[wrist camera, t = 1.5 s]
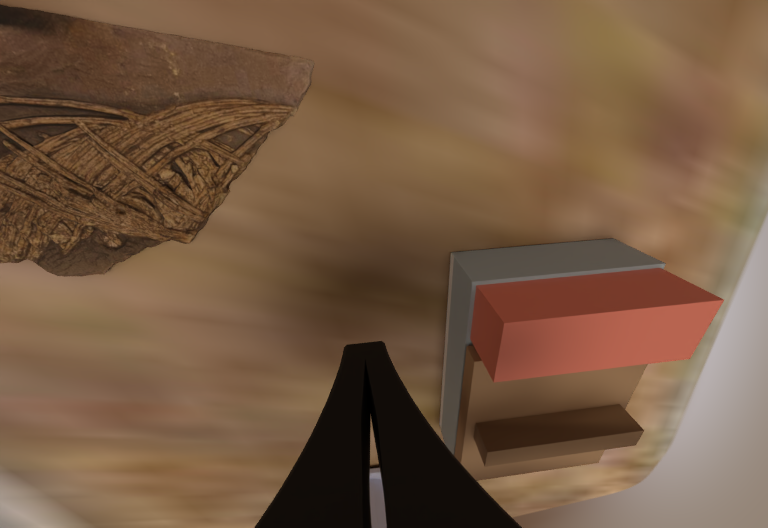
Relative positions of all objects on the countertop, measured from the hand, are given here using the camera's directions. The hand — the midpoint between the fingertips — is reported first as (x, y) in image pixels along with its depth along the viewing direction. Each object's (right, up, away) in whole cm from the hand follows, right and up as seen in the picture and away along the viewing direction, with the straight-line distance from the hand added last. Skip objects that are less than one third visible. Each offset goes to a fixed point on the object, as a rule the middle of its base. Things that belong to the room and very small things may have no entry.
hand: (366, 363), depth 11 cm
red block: (+9, +2, +3) cm, 10 cm away
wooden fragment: (-15, +8, +1) cm, 17 cm away
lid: (+9, -4, +6) cm, 12 cm away
